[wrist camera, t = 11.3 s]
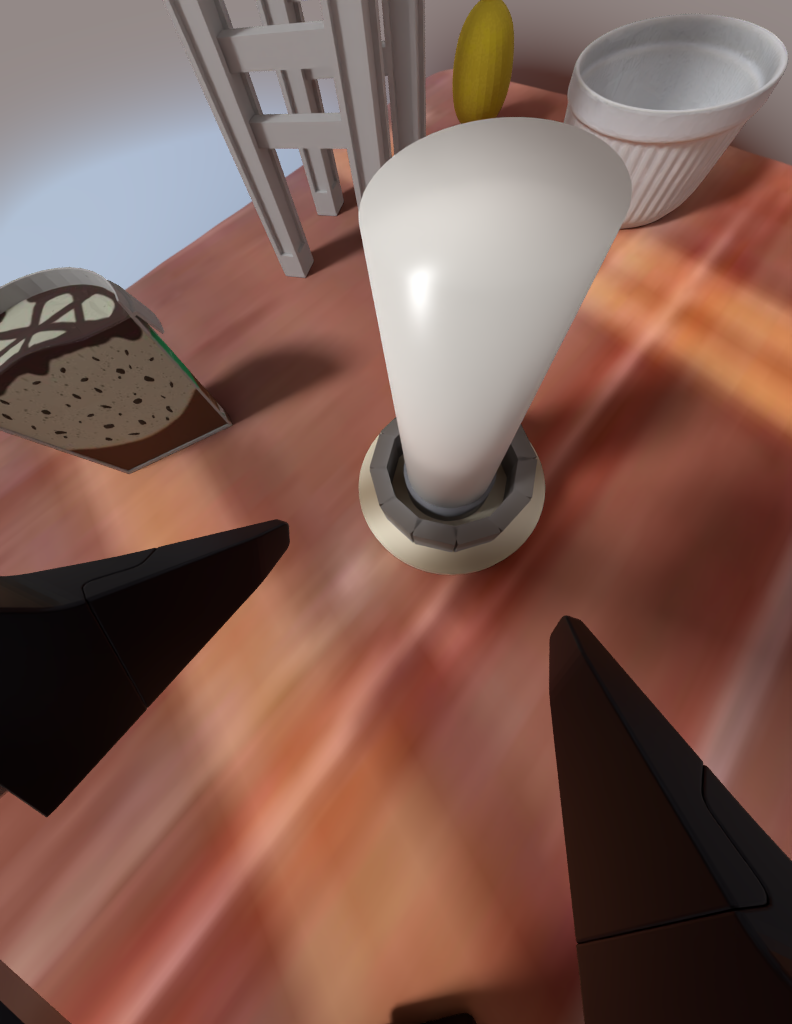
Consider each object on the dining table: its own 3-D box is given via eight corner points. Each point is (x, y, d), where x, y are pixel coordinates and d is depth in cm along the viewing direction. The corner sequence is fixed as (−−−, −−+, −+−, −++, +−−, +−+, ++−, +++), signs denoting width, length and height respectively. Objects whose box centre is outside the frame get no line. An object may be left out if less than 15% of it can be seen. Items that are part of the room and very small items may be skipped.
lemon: (476, 158, 30) (492, 10, 23) (439, 142, 32) (442, -2, 24) (513, 132, 31) (539, -21, 23) (475, 117, 32) (488, -31, 25)
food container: (231, 366, 26) (114, 229, 16) (249, 417, 24) (128, 295, 14) (104, 425, 25) (-92, 320, 16) (112, 481, 23) (-105, 401, 14)
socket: (570, 544, 18) (604, 530, 14) (387, 598, 18) (376, 597, 15) (497, 393, 22) (510, 353, 18) (346, 440, 22) (330, 410, 18)
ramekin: (680, 140, 28) (759, -5, 21) (715, 233, 24) (824, 92, 17) (535, 158, 29) (565, 30, 23) (546, 248, 25) (586, 125, 19)
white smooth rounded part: (503, 506, 18) (712, 234, 5) (420, 531, 18) (388, 338, 5) (472, 435, 20) (561, 83, 6) (397, 458, 20) (325, 164, 6)
